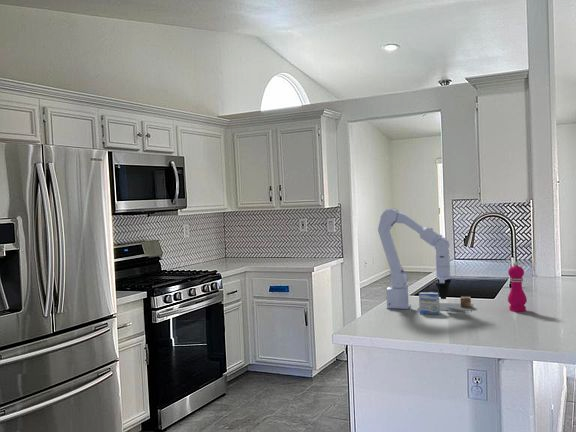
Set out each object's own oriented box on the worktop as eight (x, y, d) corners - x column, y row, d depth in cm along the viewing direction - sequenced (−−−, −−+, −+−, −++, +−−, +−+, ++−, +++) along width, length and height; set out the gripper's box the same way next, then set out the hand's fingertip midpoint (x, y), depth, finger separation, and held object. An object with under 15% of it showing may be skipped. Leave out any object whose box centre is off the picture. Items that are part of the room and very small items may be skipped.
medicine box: (419, 314, 221) (418, 293, 221) (420, 312, 225) (419, 291, 225) (438, 314, 218) (438, 294, 218) (439, 312, 222) (439, 292, 222)
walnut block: (460, 307, 228) (460, 298, 228) (461, 305, 232) (460, 296, 232) (470, 307, 227) (470, 298, 227) (470, 305, 231) (470, 296, 231)
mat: (417, 310, 229) (417, 309, 229) (421, 303, 243) (421, 302, 243) (471, 311, 221) (471, 310, 221) (472, 304, 235) (472, 303, 235)
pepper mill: (527, 309, 221) (525, 261, 221) (527, 312, 214) (525, 263, 214) (508, 308, 224) (506, 261, 224) (507, 311, 218) (505, 263, 217)
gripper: (451, 268, 220) (452, 300, 221) (453, 263, 234) (455, 294, 234) (433, 268, 223) (435, 300, 223) (437, 263, 236) (438, 294, 237)
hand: (444, 297), depth 229 cm, fingers open, 7 cm apart
